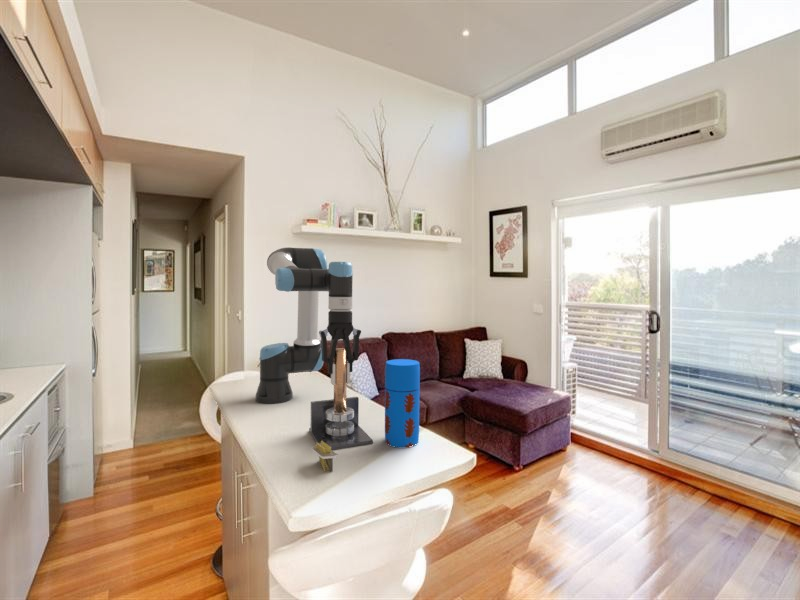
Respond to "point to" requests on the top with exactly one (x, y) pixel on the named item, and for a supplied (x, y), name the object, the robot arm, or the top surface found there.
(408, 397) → the thermos
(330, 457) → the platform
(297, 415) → the top surface
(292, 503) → the top surface
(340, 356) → the copper tube
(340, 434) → the collar stand
